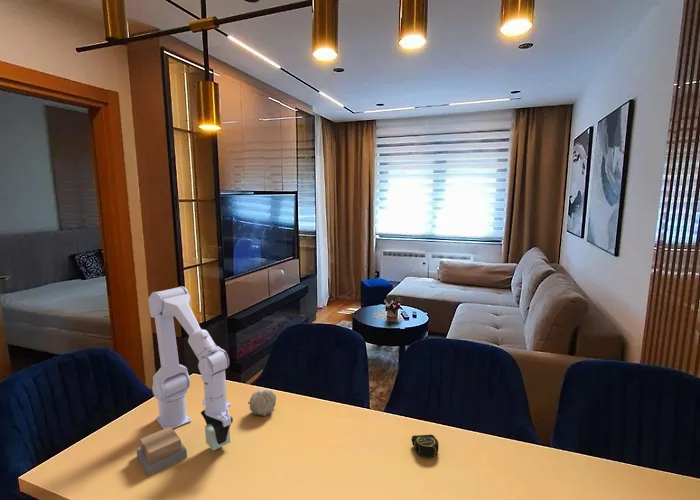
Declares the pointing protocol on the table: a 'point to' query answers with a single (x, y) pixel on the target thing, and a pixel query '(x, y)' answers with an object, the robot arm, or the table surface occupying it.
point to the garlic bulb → (262, 402)
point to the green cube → (214, 438)
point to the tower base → (160, 460)
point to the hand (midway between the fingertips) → (217, 437)
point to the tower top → (160, 444)
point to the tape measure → (425, 445)
